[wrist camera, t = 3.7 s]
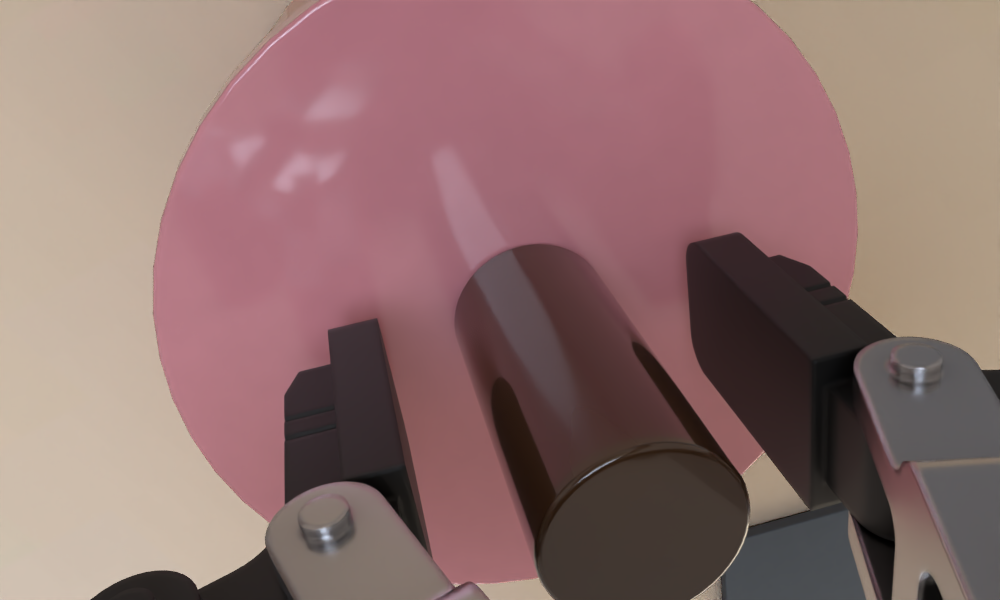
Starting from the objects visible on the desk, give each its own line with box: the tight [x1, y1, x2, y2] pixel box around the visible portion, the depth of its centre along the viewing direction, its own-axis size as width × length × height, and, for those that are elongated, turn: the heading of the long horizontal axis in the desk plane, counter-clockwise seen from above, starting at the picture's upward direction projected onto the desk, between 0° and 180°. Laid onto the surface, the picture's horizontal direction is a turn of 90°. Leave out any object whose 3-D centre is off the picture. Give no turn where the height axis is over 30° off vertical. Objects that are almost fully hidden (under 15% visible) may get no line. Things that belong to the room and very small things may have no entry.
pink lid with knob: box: [153, 0, 858, 600], centre depth 12 cm, size 11×11×6 cm
